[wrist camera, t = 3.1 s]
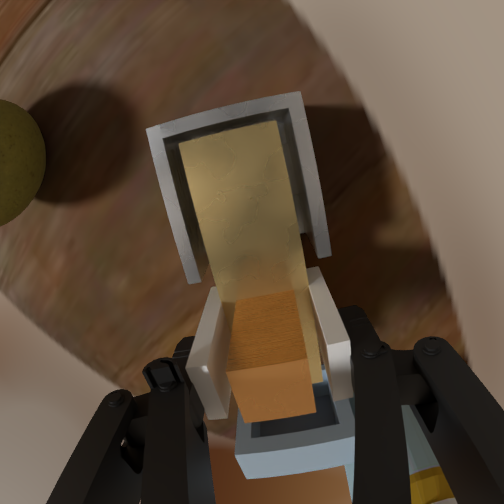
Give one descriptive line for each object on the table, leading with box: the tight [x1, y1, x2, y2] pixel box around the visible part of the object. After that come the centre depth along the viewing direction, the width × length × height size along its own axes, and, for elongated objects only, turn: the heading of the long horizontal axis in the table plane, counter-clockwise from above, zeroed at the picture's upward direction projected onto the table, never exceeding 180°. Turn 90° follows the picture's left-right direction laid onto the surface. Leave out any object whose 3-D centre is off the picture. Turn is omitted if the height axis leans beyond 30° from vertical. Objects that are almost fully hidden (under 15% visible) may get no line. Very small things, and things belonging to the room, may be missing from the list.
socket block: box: [235, 364, 355, 479], centre depth 19 cm, size 3×7×7 cm, turn 103°
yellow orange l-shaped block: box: [179, 120, 323, 423], centre depth 14 cm, size 13×4×9 cm, turn 13°
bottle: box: [345, 391, 457, 504], centre depth 16 cm, size 7×7×15 cm
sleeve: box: [146, 91, 332, 284], centre depth 15 cm, size 7×6×5 cm
